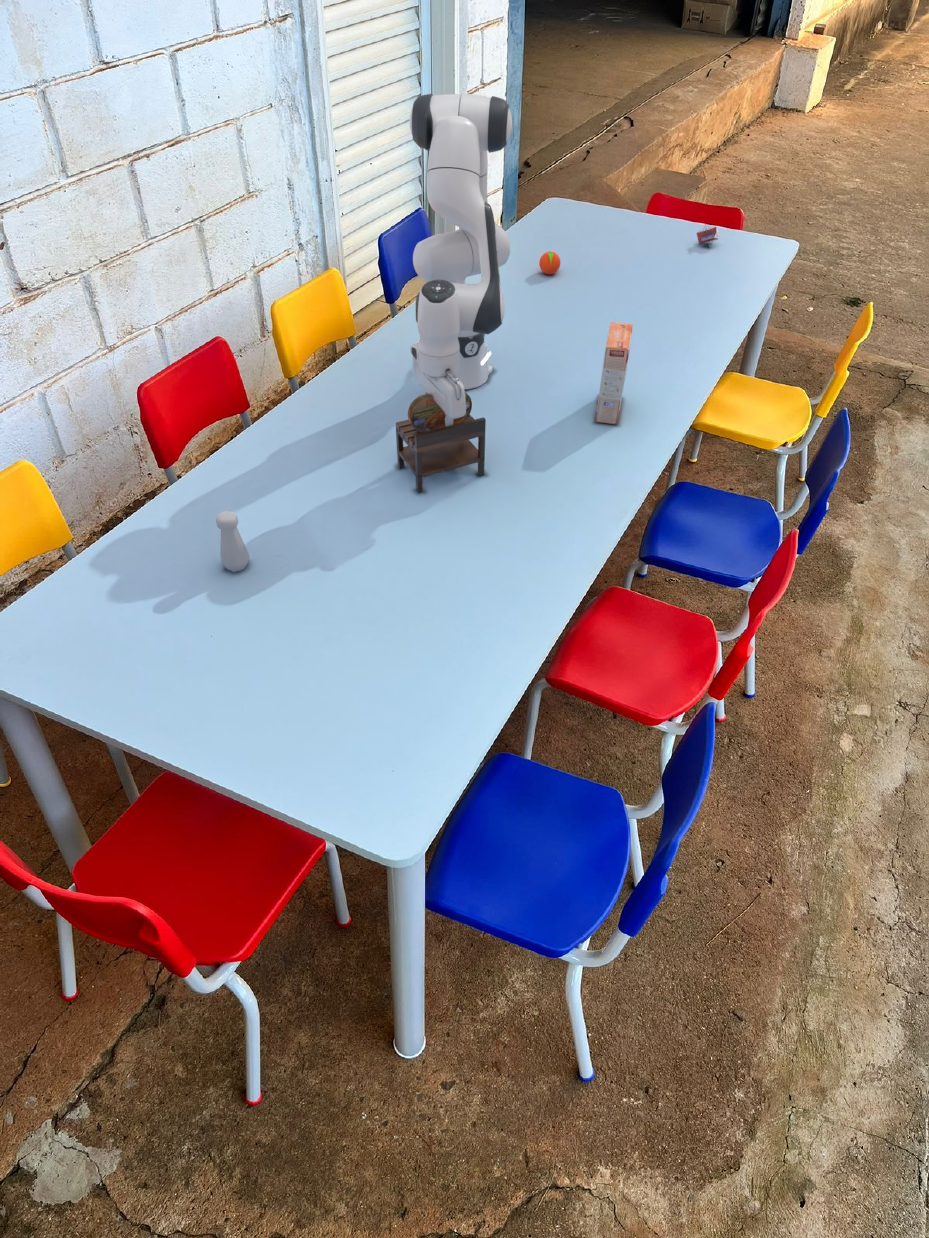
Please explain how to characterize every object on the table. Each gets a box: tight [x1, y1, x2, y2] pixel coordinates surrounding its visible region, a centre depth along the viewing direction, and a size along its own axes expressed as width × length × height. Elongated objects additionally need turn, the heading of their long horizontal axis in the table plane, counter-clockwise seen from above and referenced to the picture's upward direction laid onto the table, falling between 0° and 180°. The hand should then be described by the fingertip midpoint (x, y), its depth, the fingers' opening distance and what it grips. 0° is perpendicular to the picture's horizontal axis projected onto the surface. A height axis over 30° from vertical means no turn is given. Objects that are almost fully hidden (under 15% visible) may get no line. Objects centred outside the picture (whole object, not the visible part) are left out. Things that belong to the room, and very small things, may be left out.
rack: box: [395, 413, 487, 494], centre depth 206 cm, size 12×17×15 cm
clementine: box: [538, 251, 561, 275], centre depth 291 cm, size 8×7×7 cm
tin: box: [407, 392, 473, 433], centre depth 200 cm, size 15×3×8 cm, turn 116°
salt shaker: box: [215, 510, 250, 573], centre depth 181 cm, size 6×6×13 cm
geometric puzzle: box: [696, 223, 720, 248], centre depth 310 cm, size 7×7×8 cm
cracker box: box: [595, 321, 633, 426], centre depth 225 cm, size 14×6×21 cm, turn 168°
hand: (439, 416), depth 202 cm, fingers open, 8 cm apart
